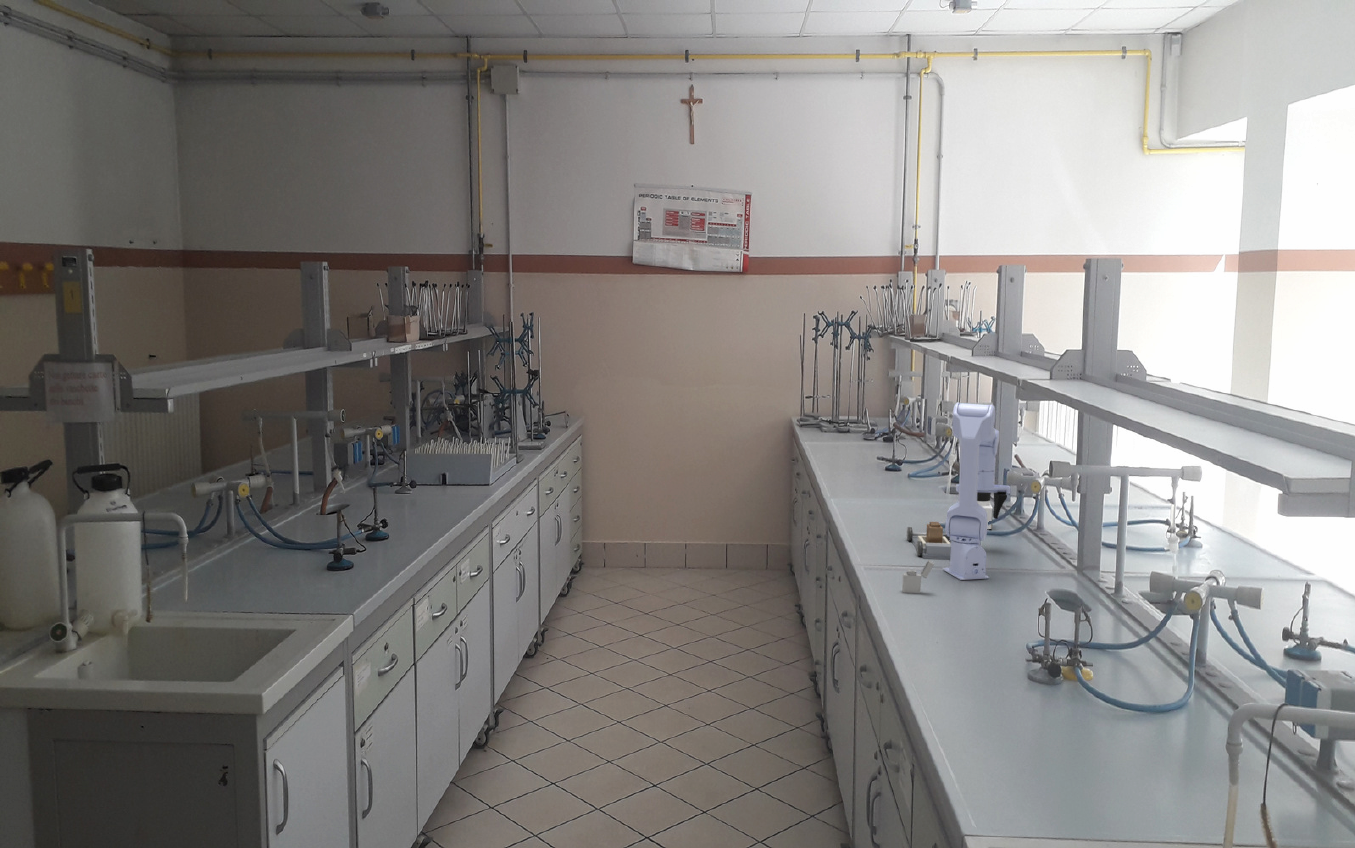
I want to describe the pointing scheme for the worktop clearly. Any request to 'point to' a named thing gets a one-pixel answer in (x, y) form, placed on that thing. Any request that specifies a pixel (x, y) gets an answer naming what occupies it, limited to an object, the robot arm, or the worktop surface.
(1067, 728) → the worktop surface
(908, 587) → the lighter
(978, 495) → the medicine bottle
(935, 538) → the brown wooden block
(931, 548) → the chassis
